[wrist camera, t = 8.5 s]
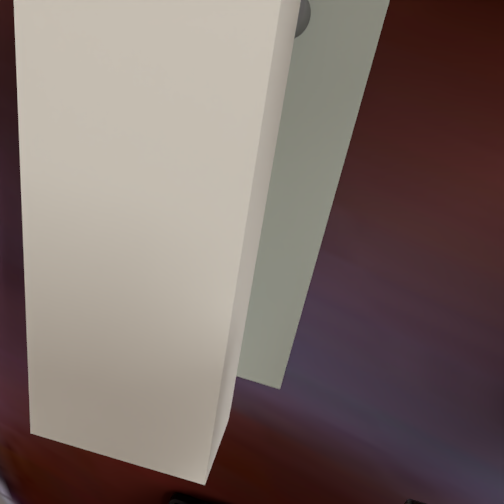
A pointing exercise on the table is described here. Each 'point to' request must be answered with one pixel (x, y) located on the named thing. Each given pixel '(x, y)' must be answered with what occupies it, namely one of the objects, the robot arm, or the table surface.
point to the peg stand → (306, 171)
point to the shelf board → (144, 214)
